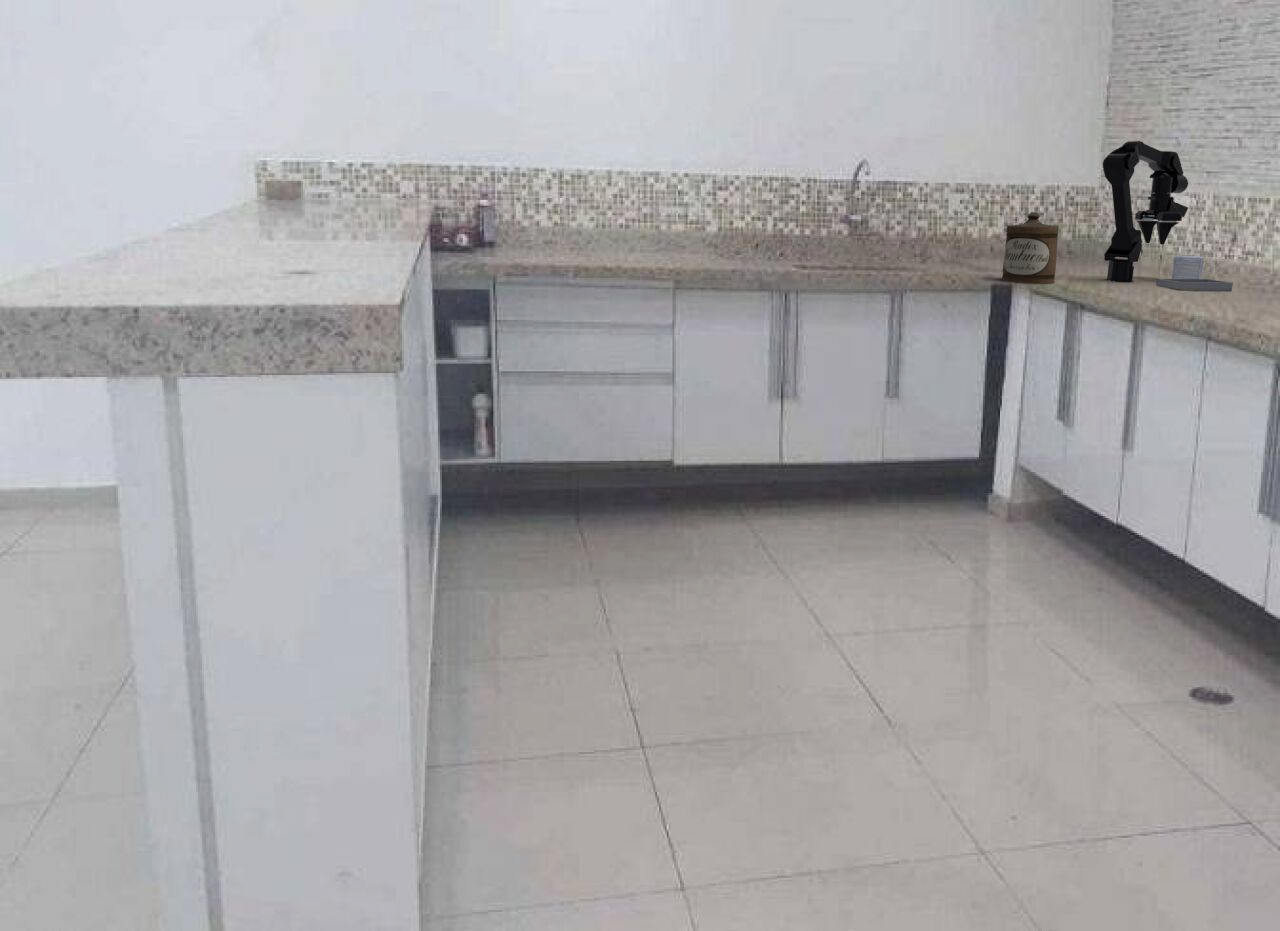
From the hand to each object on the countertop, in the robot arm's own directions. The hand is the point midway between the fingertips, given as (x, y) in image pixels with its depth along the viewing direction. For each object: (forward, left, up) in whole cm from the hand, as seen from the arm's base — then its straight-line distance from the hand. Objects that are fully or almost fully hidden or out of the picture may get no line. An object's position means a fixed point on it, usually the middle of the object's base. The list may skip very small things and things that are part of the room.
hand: (1154, 243), depth 344 cm
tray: (0, -26, -12) cm, 28 cm away
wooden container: (-49, -22, -12) cm, 55 cm away
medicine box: (+7, -9, -12) cm, 17 cm away
